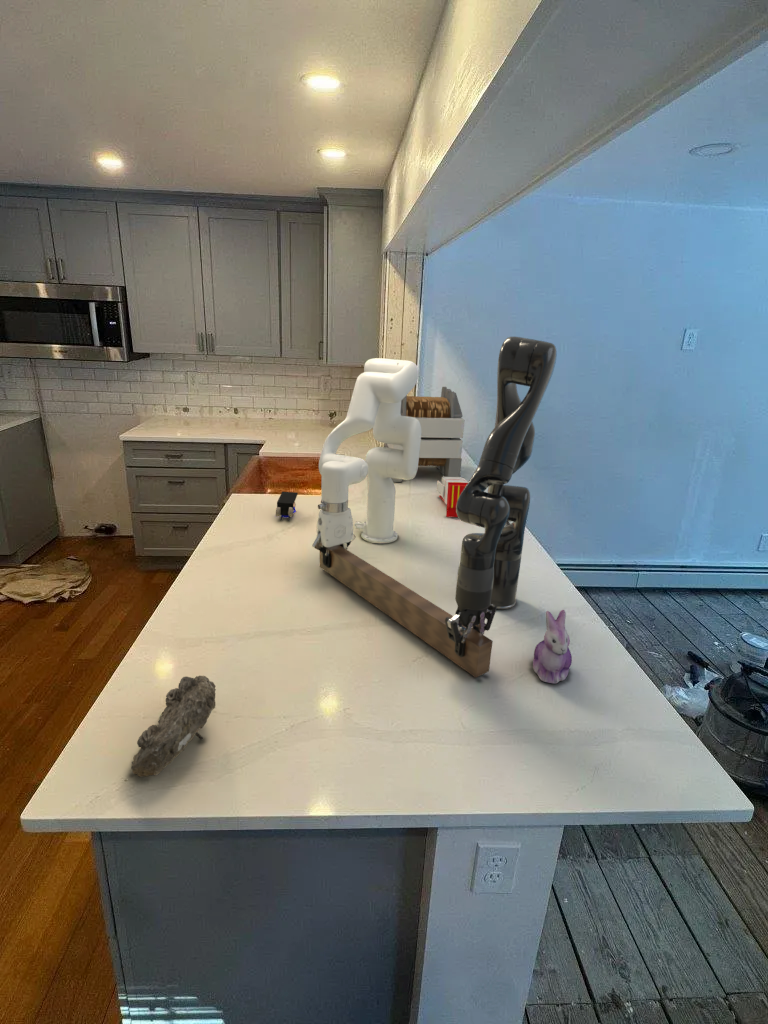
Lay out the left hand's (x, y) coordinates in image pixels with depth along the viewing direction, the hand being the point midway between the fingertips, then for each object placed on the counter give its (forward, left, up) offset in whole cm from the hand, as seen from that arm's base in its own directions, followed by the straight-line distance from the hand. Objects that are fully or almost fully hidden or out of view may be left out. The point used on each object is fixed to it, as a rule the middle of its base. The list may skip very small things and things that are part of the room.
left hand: (334, 563), depth 166 cm
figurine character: (-34, +40, -4) cm, 53 cm away
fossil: (-1, -71, -4) cm, 72 cm away
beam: (+22, -16, -3) cm, 27 cm away
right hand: (+44, -32, 0) cm, 55 cm away
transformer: (-2, +118, -4) cm, 119 cm away
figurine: (+63, -27, -4) cm, 69 cm away
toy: (+22, +77, -4) cm, 80 cm away
